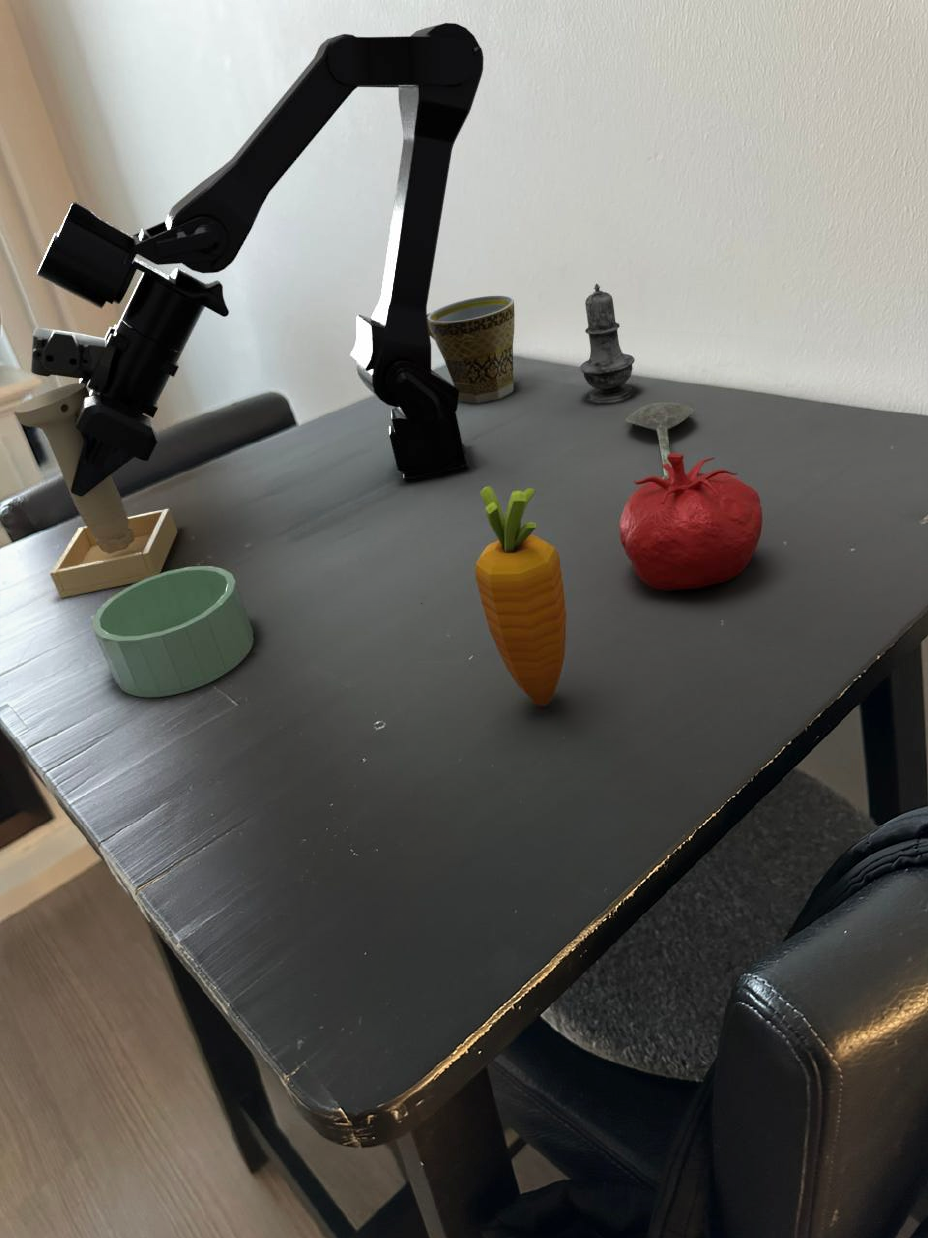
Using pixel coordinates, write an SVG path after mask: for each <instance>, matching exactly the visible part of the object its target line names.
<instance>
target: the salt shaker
mask: <svg viewBox="0 0 928 1238" xmlns="http://www.w3.org/2000/svg"><path fill="white" fill-rule="evenodd" d="M593 289H594V292H593V293H591V294H590V295H588V297H586V298H585V301H584V303H585V304H584V306H585V311H586V320H587V328H585V330H584V332H585V333H586V334H587V335H588V339H589V347H590V354H589V359H587V360H585V361H584V362H582V363H581V365H580V366H579V371H581V372H582V373H583V378H584V379H585V381H586V382H587V384H588V385H590V386H591V388H593V390H591V391H590V392H589V393H588V395H587V396H586V400H587V401H588V402H589V403H590V404H591V403H592V404H596V405H605V404H606V405H607V404H608V405H609V404H614V403H619V402H622V401H625V400H628V399H630V398H632V397H633V396H634V395H635V394H636V392H637V391H636V388H635V387H634V386H631V385H630V384H627V382H628V381H629V380H630V378H631V376H632V372H633V364H634V363H635V361H636V359H635V357H634V356H633V355H631V354H628V353H624V352H623V351H622V348H621V346H620V341H619V333H618V329H619V328H620V327H621V326H620V323H619V322H616V317H615V316H616V315H615V308H614V307H615V306H614V299H613V296H612V295H611V294H610V293H609V292H605V291H603V290H601V286H600V285H599V284H598V283H595V285H594V287H593Z"/></svg>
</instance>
